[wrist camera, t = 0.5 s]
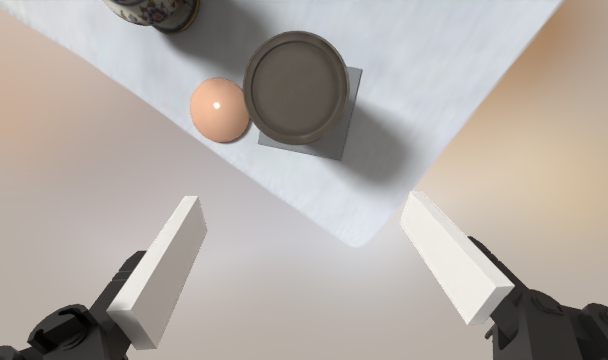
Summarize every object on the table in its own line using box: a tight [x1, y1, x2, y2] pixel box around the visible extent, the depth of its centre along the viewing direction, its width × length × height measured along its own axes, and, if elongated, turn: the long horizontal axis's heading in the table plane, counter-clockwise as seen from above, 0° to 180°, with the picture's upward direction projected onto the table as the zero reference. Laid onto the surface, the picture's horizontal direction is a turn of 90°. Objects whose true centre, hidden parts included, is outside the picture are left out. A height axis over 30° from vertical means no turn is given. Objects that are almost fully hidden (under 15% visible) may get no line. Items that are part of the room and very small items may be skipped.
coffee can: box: [243, 31, 350, 145], centre depth 28 cm, size 10×10×14 cm
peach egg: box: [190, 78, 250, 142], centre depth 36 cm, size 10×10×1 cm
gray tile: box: [258, 66, 362, 161], centre depth 35 cm, size 14×14×1 cm
